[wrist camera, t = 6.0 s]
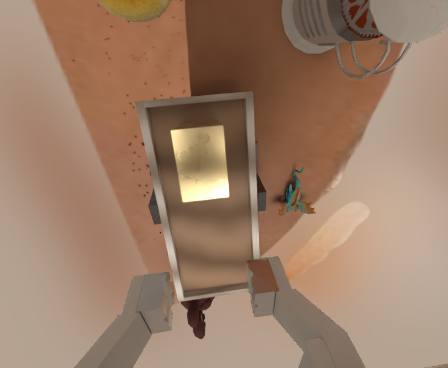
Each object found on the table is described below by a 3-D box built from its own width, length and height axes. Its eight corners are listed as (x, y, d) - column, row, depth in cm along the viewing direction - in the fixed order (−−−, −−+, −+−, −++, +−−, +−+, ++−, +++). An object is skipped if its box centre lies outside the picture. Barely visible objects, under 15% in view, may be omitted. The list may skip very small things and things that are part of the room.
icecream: (217, 258, 46) (226, 338, 33) (184, 266, 46) (179, 348, 33) (210, 236, 42) (216, 316, 29) (174, 244, 42) (164, 327, 30)
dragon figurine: (268, 167, 39) (270, 210, 40) (281, 168, 32) (282, 220, 33) (303, 166, 39) (304, 208, 40) (324, 166, 32) (324, 218, 33)
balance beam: (143, 102, 24) (135, 101, 21) (246, 93, 24) (253, 91, 21) (180, 283, 33) (178, 301, 30) (255, 272, 33) (260, 289, 30)
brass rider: (179, 123, 23) (170, 130, 16) (217, 120, 23) (223, 125, 16) (188, 177, 25) (182, 202, 18) (222, 173, 25) (229, 196, 18)
